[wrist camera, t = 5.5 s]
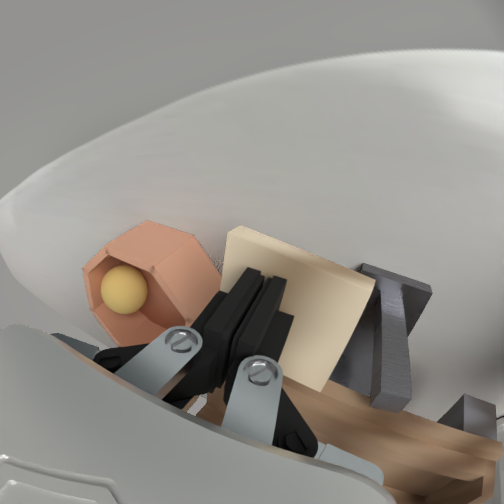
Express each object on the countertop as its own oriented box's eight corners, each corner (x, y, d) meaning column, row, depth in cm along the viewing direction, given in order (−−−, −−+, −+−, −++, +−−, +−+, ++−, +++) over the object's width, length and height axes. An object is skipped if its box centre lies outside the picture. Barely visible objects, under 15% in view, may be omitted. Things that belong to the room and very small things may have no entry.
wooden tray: (556, 328, 9) (588, 421, 4) (434, 458, 16) (416, 533, 10) (275, 206, 16) (187, 254, 10) (238, 375, 22) (184, 435, 17)
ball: (144, 286, 21) (92, 282, 20) (146, 326, 23) (99, 322, 22) (149, 257, 24) (104, 254, 23) (150, 295, 26) (108, 292, 25)
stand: (429, 285, 17) (455, 389, 10) (354, 406, 24) (337, 491, 16) (363, 262, 18) (356, 364, 11) (304, 392, 25) (276, 475, 18)
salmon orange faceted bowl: (230, 247, 21) (197, 282, 17) (217, 346, 26) (191, 385, 22) (120, 211, 24) (77, 233, 19) (126, 305, 28) (95, 333, 24)
